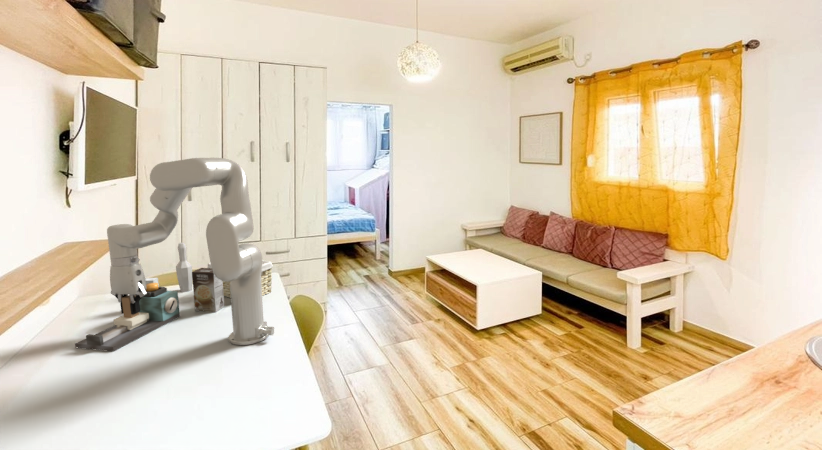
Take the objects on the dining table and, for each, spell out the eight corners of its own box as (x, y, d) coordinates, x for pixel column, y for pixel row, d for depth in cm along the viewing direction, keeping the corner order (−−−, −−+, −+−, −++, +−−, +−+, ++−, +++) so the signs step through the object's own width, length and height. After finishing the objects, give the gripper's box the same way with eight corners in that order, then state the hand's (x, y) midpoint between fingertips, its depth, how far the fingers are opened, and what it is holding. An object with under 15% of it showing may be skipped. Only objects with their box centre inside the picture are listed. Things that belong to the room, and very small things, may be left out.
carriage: (149, 322, 140) (146, 293, 139) (132, 330, 133) (129, 300, 132) (132, 320, 141) (129, 292, 140) (114, 328, 135) (111, 299, 133)
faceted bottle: (175, 290, 180) (170, 243, 176) (189, 287, 185) (185, 241, 181) (182, 293, 176) (177, 245, 173) (196, 289, 181) (192, 242, 178)
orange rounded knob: (161, 288, 147) (160, 283, 147) (152, 291, 143) (151, 286, 143) (151, 287, 148) (151, 282, 147) (142, 291, 144) (142, 285, 143)
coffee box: (194, 311, 155) (190, 271, 152) (204, 305, 161) (200, 267, 159) (216, 312, 154) (212, 272, 152) (225, 306, 160) (222, 268, 158)
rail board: (182, 316, 150) (179, 287, 148) (116, 351, 123) (111, 315, 121) (147, 314, 152) (144, 285, 150) (75, 347, 125) (70, 313, 123)
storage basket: (276, 292, 177) (274, 260, 175) (246, 304, 163) (243, 269, 161) (239, 285, 188) (236, 254, 186) (208, 295, 174) (205, 262, 172)
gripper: (154, 259, 136) (160, 310, 139) (113, 257, 139) (120, 307, 142) (136, 264, 129) (142, 318, 132) (93, 262, 131) (100, 315, 134)
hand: (131, 312), depth 137 cm, fingers closed on carriage, 3 cm apart
